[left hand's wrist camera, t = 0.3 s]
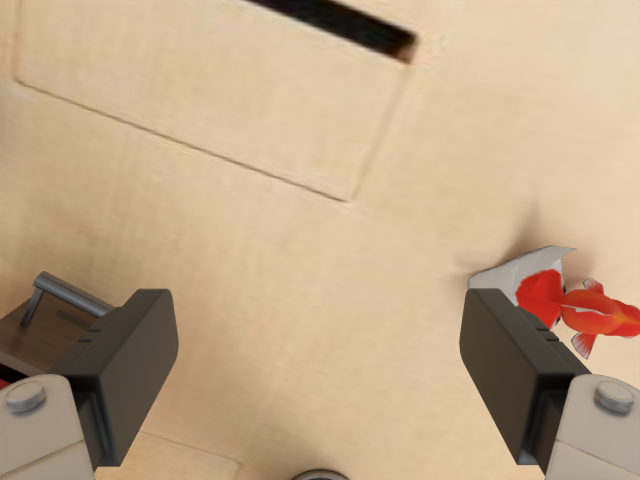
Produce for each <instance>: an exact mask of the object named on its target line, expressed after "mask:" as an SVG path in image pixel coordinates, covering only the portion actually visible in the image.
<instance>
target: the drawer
mask: <svg viewBox="0 0 640 480" xmlns="http://www.w3.org/2000/svg"><path fill="white" fill-rule="evenodd" d="M33 285H34V286H35V287H36V289H35V292H34V294H33V296H32V297H31V298H30V299H28V300H27V301H26V302H24V303H23V304H21V305H20V306H19V307H17V308H16V309H15V310H13V311H12V312H10V313H9V314H8V315H6V316H5V317H4V318H2V319H1V320H0V379H2V380H4V381H6V382H8V383H11V384H13V383H15V382H17V381H20V380H22V379H25V378H29V377H32V376H37V375H43V374H45V373H46V372H47V371H48V370H49V369H50V368H51V367H52V366H53V365H54V364H55V363H56V362H57V361H58V360H59V359H60V358H61V357H62V356H63V355H64V354H65V353H66V352H67V351H68V350H69V349H70V347H71V346H72V345H73V344H74V343H77V342H78V339H79V338H80V337H81V336H82V335H83V334H84V333H85V332H88V329H89V328H90V327H91V326H92V325H93V324H94V323H95V321H96V320H97V319H98V318H99V317H101V316H103V315H104V314H106V313H108V312H110V311H111V310H113V309H115V307H114V306H112V305H110V304H108V303H106V302H104V301H102V300H100V299H98V298H96V297H94V296H92V295H90V294H88V293H86V292H84V291H82V290H80V289H78V288H77V287H75V286H73V285H71V284H69V283H67V282H65V281H63V280H61V279H59V278H57V277H55V276H53V275H51V274H49V273H47V272H45V271H43V272H42V273H40V274H39V275H38V276H37V278H36V279H35V281H34V283H33Z"/></svg>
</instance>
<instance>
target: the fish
mask: <svg viewBox="0 0 640 480" xmlns="http://www.w3.org/2000/svg"><path fill="white" fill-rule="evenodd" d="M574 250H576V249H574V248H567V247H559V246H551V245H550V246H547V247H544V248H540V249H537V250H533V251H530V252H527V253H524V254H522V255H520V256H518V257H516V258H514V259H512V260H510V261H508V262H505V263H503V264H501V265H499V266H497V267H495V268H492V269H488V270H485V271H483V272H480V273H478V274H476V275H474V276H472V277H471V278H470V279H468V289H470V288H499V289H500V290H501V291H502V292H503V293H504V294H505V295H506V296H507V297H508V298H509V300H510V301H511V302H512V303H513V304H514V305H515V306H520V307H522V308H524V309H526V310H527V311H529V312H531V313H532V314H534V315H536V316H538V317H539V318H540V319H541V320H542V322H543V323H544V324H545V325H546V326H547V327H548V328H549V330H550V331H552V330H553V329H554V327H555V326H556V324H557V323H558V322H559V320H560V317H561V316H562V319H563V321H564V323H565V324H566V325H567V326H569V327H570V328H572V329H574V330H576V331H578V332H579V333H577V334H576V335H575V336H574V337H573V338H572V339H571V342H572V344H573V346H574V348H575V349H576V351H577V352H578V353H579V354H580V355H581V356H582V357H584V358H585V359H588V356H589V355H590V352H591V350H592V347H593V344H594V342H595V339H596V337H597V335H598V334H604V335H606V336H621V337H624V338H634V337H635V336H637V335H639V334H640V310H639V309H638V308H637V307H635V306H633V305H626V304H624V303H622V302H620V301H618V300H614V299H610V298H609V297H607V296H605V295H604V291H603V286H602V284H600V283H598V282H597V281H596V280H594V279H593V278H590V279H587V280H585V281H584V282H583V284H584V286H585V289H586V290H584V289H578V290H573V291H571V292H569V293H568V294H566V295H565V292H566V289H565V285H564V281H563V277H562V262H561V258H562V257H563V256H564V255H566V254H568V253H570V252H571V251H574ZM564 295H565V296H564Z"/></svg>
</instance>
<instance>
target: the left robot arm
mask: <svg viewBox="0 0 640 480" xmlns="http://www.w3.org/2000/svg"><path fill="white" fill-rule="evenodd" d="M459 344H460V353H461V357H462V360H463V363H464V364H465V366H466V368H467V370H468V372H469V374H470V376H471V378H472V380H473V382H474V384H475V386H476V387H477V389H478V391H479V393H480V395H481V397H482V399H483V401H484V403H485V405H486V407H487V408H488V410H489V412H490V414H491V416H492V418H493V420H494V422H495V424H496V426H497V428H498V430H499V431H500V433H501V435H502V437H503V439H504V441H505V443H506V445H507V447H508V449H509V451H510V452H511V454H512V456H513V458H514V460H515V462H516V464H517V465H539V466H540V468H541V470H542V472H543V473H544V475H545V480H640V390H638V389H637V388H635V387H633V386H631V385H630V384H627V383H625V382H623V381H620V380H618V379H615V378H611V377H608V376H603V375H597V374H592V373H591V372H590V371H589V370H588V369H587V368H586V367H585V366H584V365H583V363H582V362H581V361H580V360H579V359H578V358H577V357H576V356H575V355H574V354H573V353H572V352H571V351H570V350H569V349H568V348H567V347H566V346H565V345H564V344H563V342H559V338H558V337H557V336H556V335H555V334H554V333H553V332H552V331H550V330H549V328H548V327H547V326H546V325H545V324H544V323H543V322H542V320H541V319H540V318H539V317H538V316H536V315H534V314H532V313H531V312H529V311H527V310H526V309H524V308H522V307H520V306H515V305H514V304H513V303H512V302H511V301H510V300H509V298H508V297H507V296H506V295H505V294H504V293H503V292H502V291H501V290H500V289H499V288H470V289H468V291H467V293H466V297H465V304H464V311H463V318H462V325H461V332H460V341H459ZM177 353H178V334H177V327H176V320H175V313H174V306H173V299H172V294H171V292H170V290H169V289H138V290H137V291H136V292H135V293H134V294H133V295H132V296H131V297H130V299H129V300H128V301H127V302H126V303H125V304H124V305H123V306H122V307H116V308H115V309H113V310H111V311H110V312H108V313H106V314H104V315H103V316H101V317H99V318H98V319H97V320H96V321H95V323H94V324H93V325H92V326H91V327H90V328H89V329H88V332H85V333H84V334H83V335H82V336H81V337H80V338H79V339H78V342H77V343H74V344H73V345H72V346H71V347H70V349H69V350H68V351H67V352H66V353H65V354H64V355H63V356H62V357H61V358H60V359H59V360H58V361H57V362H56V363H55V364H54V365H53V366H52V367H51V368H50V369H49V370H48V371H47V372H46V373H45V374H43V375H37V376H32V377H29V378H25V379H22V380H20V381H17V382H15V383H13V384H10V385H9V386H7V387H5V388H3V389H2V390H0V480H95V476H94V472H95V471H96V469H97V467H120V465H121V463H122V461H123V459H124V458H125V456H126V454H127V452H128V450H129V448H130V446H131V444H132V442H133V441H134V439H135V437H136V435H137V433H138V431H139V429H140V427H141V425H142V423H143V422H144V420H145V418H146V416H147V414H148V412H149V410H150V408H151V406H152V405H153V403H154V401H155V399H156V397H157V395H158V393H159V391H160V389H161V388H162V386H163V384H164V382H165V380H166V378H167V376H168V374H169V372H170V371H171V369H172V367H173V365H174V363H175V361H176V357H177ZM293 480H348V479H347V478H345V477H344V476H342V475H340V474H337V473H335V472H331V471H322V470H319V471H310V472H307V473H304V474H301V475H299V476H298V477H296V478H295V479H293Z"/></svg>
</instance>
